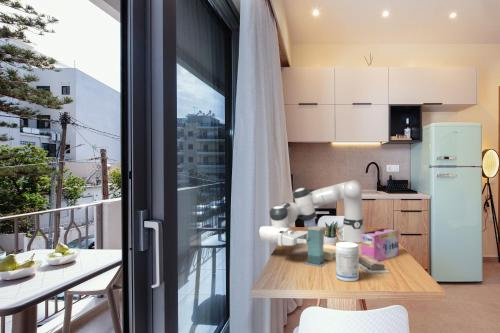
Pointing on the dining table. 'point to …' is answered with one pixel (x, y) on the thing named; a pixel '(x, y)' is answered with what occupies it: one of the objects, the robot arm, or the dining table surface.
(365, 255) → the grey layered block
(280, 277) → the dining table surface
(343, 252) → the supplement tub
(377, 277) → the dining table surface
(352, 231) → the robot arm
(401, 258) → the dining table surface
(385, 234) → the gum box
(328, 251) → the beige square bowl
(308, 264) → the coaster
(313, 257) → the tea tin
